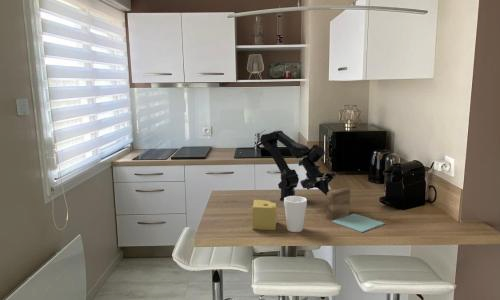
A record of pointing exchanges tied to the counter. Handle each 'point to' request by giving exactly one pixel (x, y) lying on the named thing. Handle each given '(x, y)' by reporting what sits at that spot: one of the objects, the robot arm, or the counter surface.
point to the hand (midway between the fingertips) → (328, 195)
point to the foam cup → (295, 212)
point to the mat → (358, 222)
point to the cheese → (264, 215)
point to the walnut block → (338, 203)
